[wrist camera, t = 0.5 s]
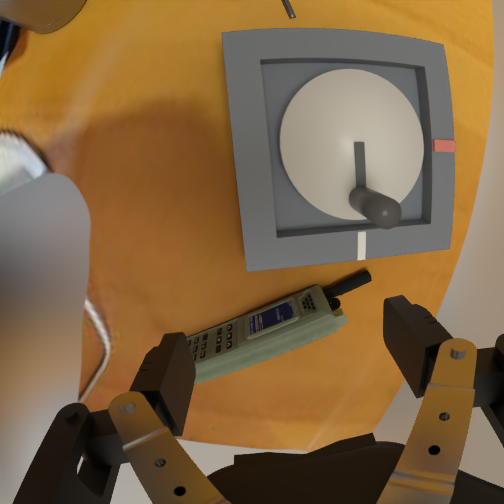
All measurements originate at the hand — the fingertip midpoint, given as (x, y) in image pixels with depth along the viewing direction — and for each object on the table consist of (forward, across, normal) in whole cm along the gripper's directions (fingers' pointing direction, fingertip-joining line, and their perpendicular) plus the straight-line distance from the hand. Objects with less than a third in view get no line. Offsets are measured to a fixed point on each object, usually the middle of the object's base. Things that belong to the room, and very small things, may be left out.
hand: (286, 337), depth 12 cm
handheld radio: (+22, +2, +11) cm, 25 cm away
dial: (+19, -9, -7) cm, 22 cm away
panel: (+21, -9, -7) cm, 24 cm away
